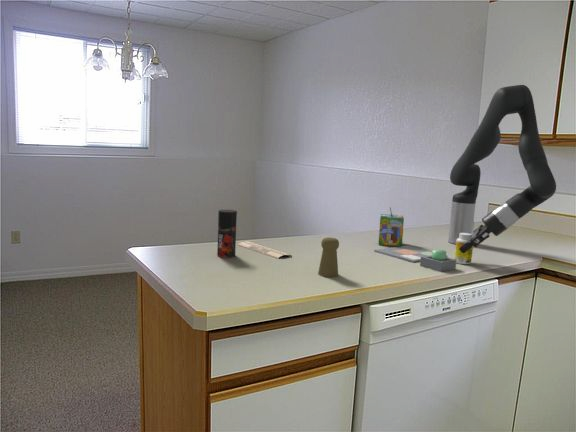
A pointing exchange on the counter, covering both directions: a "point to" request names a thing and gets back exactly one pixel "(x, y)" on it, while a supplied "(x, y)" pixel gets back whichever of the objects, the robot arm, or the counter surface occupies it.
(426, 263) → the button housing
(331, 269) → the cork
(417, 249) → the sheet board
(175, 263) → the counter surface
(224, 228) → the deodorant
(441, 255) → the button
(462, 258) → the supplement bottle
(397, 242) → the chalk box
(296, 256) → the counter surface
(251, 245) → the newspaper
